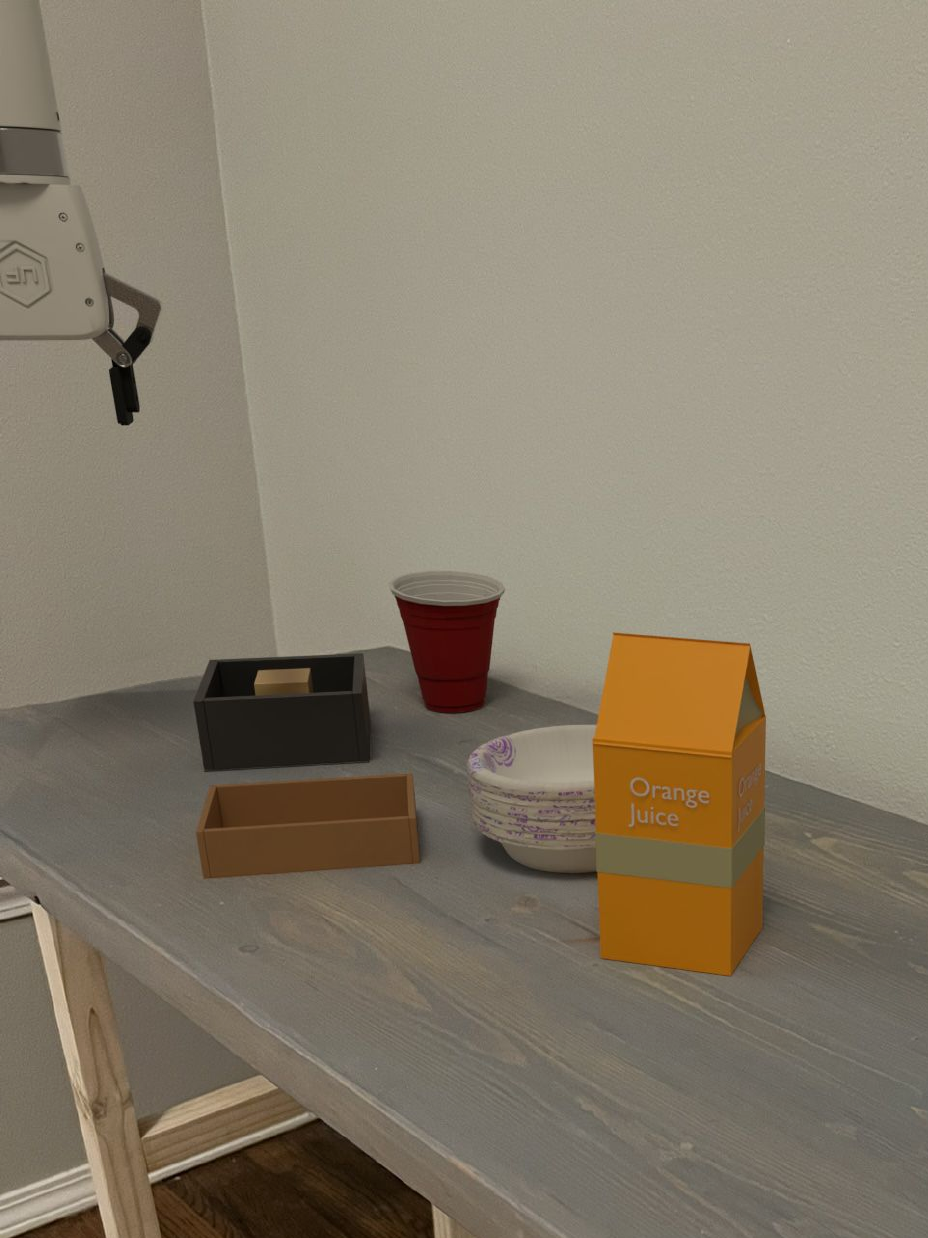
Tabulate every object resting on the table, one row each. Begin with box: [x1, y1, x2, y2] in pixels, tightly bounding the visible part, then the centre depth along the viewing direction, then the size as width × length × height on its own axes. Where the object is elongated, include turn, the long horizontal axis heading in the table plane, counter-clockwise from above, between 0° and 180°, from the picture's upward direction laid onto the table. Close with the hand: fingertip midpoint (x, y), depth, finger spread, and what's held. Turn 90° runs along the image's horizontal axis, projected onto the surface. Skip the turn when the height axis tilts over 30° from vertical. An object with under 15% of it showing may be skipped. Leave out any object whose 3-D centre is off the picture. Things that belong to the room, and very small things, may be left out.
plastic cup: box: [388, 570, 506, 714], centre depth 142 cm, size 11×11×12 cm
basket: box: [192, 652, 372, 773], centre depth 131 cm, size 14×14×7 cm
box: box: [195, 772, 421, 880], centre depth 109 cm, size 15×10×4 cm, turn 102°
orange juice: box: [592, 632, 767, 977], centre depth 92 cm, size 8×9×20 cm
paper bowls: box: [466, 724, 597, 874], centre depth 109 cm, size 15×15×8 cm
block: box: [254, 668, 313, 696], centre depth 131 cm, size 4×4×6 cm
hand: (57, 424), depth 110 cm, fingers open, 9 cm apart
